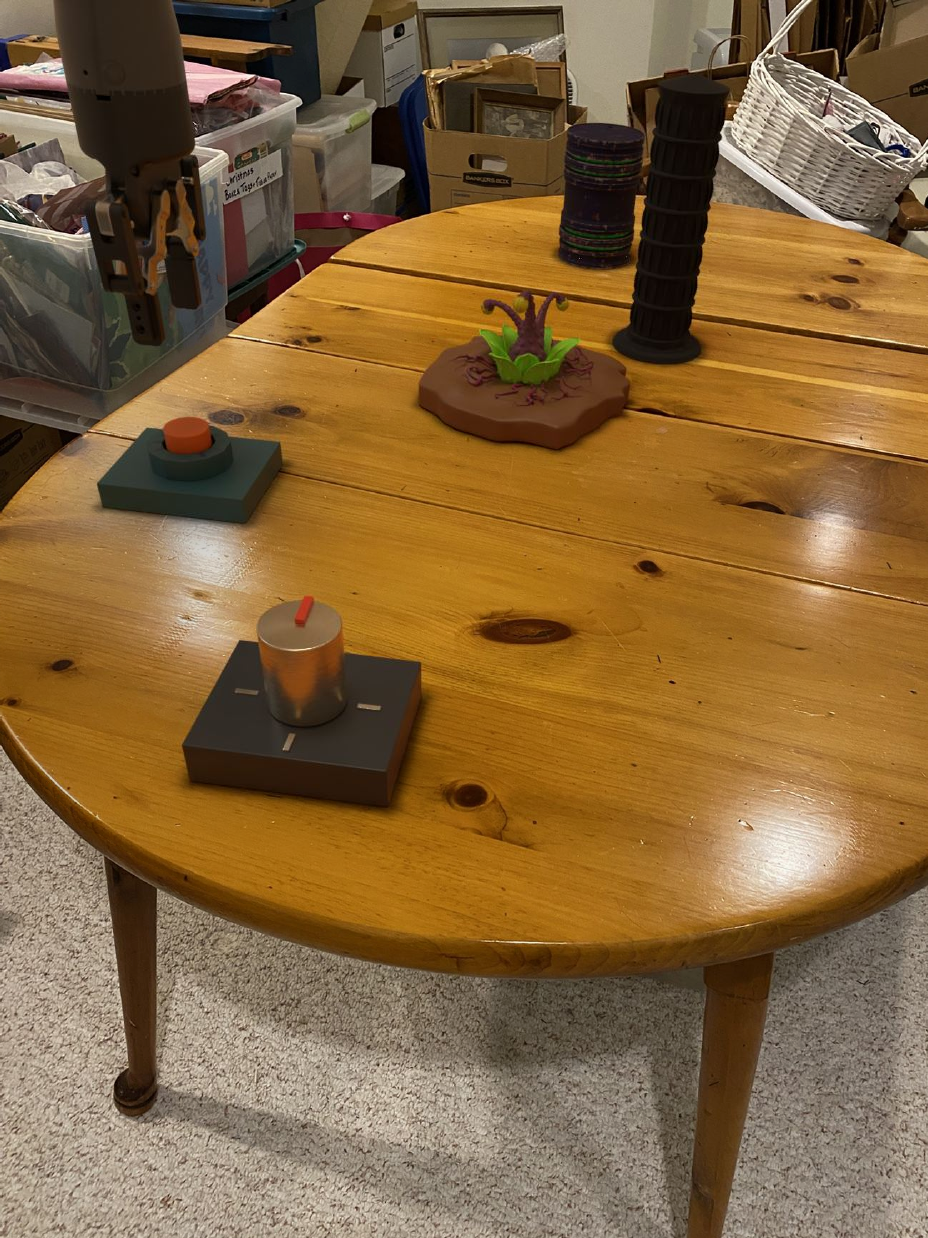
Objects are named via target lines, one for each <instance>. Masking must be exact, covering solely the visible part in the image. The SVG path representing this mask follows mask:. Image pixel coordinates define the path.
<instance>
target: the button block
mask: <svg viewBox="0 0 928 1238" xmlns="http://www.w3.org/2000/svg"><path fill="white" fill-rule="evenodd" d="M209 428H210V434H211V441H212V446H211V448H210V449H207V450H205V451H203V452H201V453H194V454H187V455H184V454H175V453H171V452H169V451H168V450H167V447H166V442H165V437H164V431H163V428H156V427H146V428H145V429H144V430H143V431H142V432H141V433H140V434H139V435H138V437H137V438H136V439H135V440H133V442H132V443H131V444H130V445H129V447H128V448H127V449H126V450H125V451H124V452H123V453H122V454H121V456H120V457H119V458H118V459H117V460H116V461H115V463H114V464H112V466H111V467H110V468H109V469H108V470H107V471H106V472H105V473H104V475H103V476H102V477H101V478H100V479H99V480H98V481H97V482H96V487H97V490H98V495H99V499H100V503H101V506H102V508H106V509H107V508H108V509H117V510H126V511H135V512H143V513H151V514H161V515H168V516H169V515H170V516H177V517H178V516H179V517H184V518H185V517H187V518H196V519H204V520H213V521H221V522H230V523H239V524H246V523H247V522H248V521H249V519H250V517H251V516H252V515H253V512H254V511H255V509H256V508H257V506H258V504H259V503H260V501H261V500H262V498H263V497H264V496H265V494H266V492H267V490H268V489H269V487H270V486H271V484H272V483H273V481H274V479H275V478H276V476H277V475H278V473H279V472H280V470H281V469H282V466H283V464H284V462H283V454H282V443H281V441H275V440H265V439H256V438H247V437H241V436H239V437H237V436H229V434H228V432H227V431H225V430H224V429H222V428H218V427H217V426H215V425H210V424H209Z"/></svg>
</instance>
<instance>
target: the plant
mask: <svg viewBox="0 0 928 1238" xmlns="http://www.w3.org/2000/svg"><path fill="white" fill-rule="evenodd" d="M554 299H555V306H556V308H557V310H558V311H561V312H565V311H567V310H568V309H569V307H570V303H569V299H568V298H567V297H566V296H565V295H563V294H562V293H558V292H555V291H553V292H551V293H550V294H548V296H547V297H545V300H544V299H543V301H542V302H543V303H542V304H541V305H540V308H539V309H538V311H537V314H536V303H535V302H534V300H535V297H534V295H533V294H532V292H531V290H530V289H527V290H524V291H521V292H520V293H519V294H516V296H515V298H514V299H513V302H512V307H511V306H510V305H508V304H507V303H505V302H502V301H501V300H497V299H492V298H487V299H484V300H483V301H481V304H480V310H481V312H482V313H483V315H487V316H489V315H492V314H493V313H494V311H495V307H497V308H499V309H501V310H503V312H504V313H506V314H507V316H508V317H509V318H510V319H511V321H512V322H513V323H514V326H515V327H516V329H517V330H515V329H514V328H512V327H511V326H510V325H508V324H502V326H501V332H502V334H497V333H496V332H494V331H492V330H488V329H482V328H479V330H478V334H479V335H477V336H473V337H472V338H471V340H470V341H469V342H467V343H464V344H461V345H457V346H453V347H448V348H445V349H444V350H442V351H441V352H440V354H439V356H438V357H437V358H436V359H435V360H434V361H433V362H432V363H431V364H430V365H428V367H427V368H426V369H425V370H424V372H423V374H422V375H421V377H420V380H419V381H418V405H419V406H420V407H422V408H424V409H425V410H427V411H429V412H431V413H433V414H434V415H436V416H437V417H439V419H440V420H441V421H442V422H443V423H445V424H446V425H448V426H450V427H452V428H454V429H457V430H459V431H461V432H465V433H469V434H472V435H474V436H475V435H476V436H478V437H480V438H484V439H487V440H490V441H494V442H524V443H530V444H534V445H538V446H541V447H545V448H549V449H552V450H559V449H561V448H563V447H565V446H569V445H572V444H574V443H575V442H576V441H577V440H578V439H579V438H580V437H582V436H583V435H585V434H588V433H590V432H593V431H594V430H596V429H597V428H598V427H599V426H600V425H601V424H602V423H603V422H604V421H605V420H607V419H608V418H610V417H613V416H617V415H621V414H623V411H624V406H625V405H626V404H627V403H628V401H629V397H630V396H629V395H630V388H631V380H630V379H629V378H627V377H626V375H627V367H626V365H624V364H623V363H622V362H620V361H619V360H618V359H616V358H614V357H612V356H610V355H607V354H606V353H602V352H599V351H594V350H590V349H587V348H585V347H582V346H579V343H581V337H570V338H566V339H563V340H560V339H554V337H553V333H554V332H553V328H552V327H551V326H550V325H548V326H545V324H546V317H547V313H548V310H549V307H550V304H551V303H552V301H554ZM520 314H524V319H522V317H520Z"/></svg>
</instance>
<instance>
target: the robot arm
mask: <svg viewBox="0 0 928 1238" xmlns="http://www.w3.org/2000/svg"><path fill="white" fill-rule="evenodd" d="M52 4H53V12H54V13H53V15H54V26H55V33H56V40H57V44H58V49H59V54H60V59H61V64H62V68H63V74H64V77H65V83H66V88H67V92H68V97H69V103H70V106H71V113H72V116H73V122H74V126H75V131H76V136H77V141H78V144H79V148H80V150H81V151H82V153H83V154H84V155H85V156H86V157H88V158H90V159H92V160H96V161H97V162H98V163H99V164H100V165H101V166H103V168H104V175H105V177H104V178H105V197H104V198H103V199H102V200H91V199H90V200H89V199H87V200H86V201H85V202H84V207H83V209H84V216H85V220H86V224H87V228H88V233H89V236H90V241H91V244H92V248H93V252H94V256H95V261H96V264H97V268H98V273H99V277H100V280H101V285H102V288H103V291H104V292H106V293H110V294H111V293H115V294H122V295H123V296H124V300H125V306H126V309H127V310H126V311H127V315H128V320H129V326H130V330H131V336H132V339H133V341H134V342H135V343H136V344H137V345H140V346H141V345H142V346H148V347H149V346H151V347H160V346H162V344H164V342H165V341H166V339H167V336H166V330H165V325H164V321H163V320H164V319H163V314H162V309H161V308H162V307H161V303H160V302H161V301H160V297H159V292H158V291H157V284H158V283H157V281H158V264H159V263H161V262H162V261H163V263H164V267H165V273H166V279H167V284H168V285H167V286H168V290H169V291H168V292H169V296H170V302H171V305H172V306H173V307H174V308H176V309H181V310H182V309H183V310H184V309H185V310H193V311H194V310H197V309H198V308H199V307H201V305H202V303H203V300H202V294H201V285H200V280H199V274H198V268H197V260H196V258H197V257H199V254H200V246H199V242H204V241H205V240H206V238H207V230H206V219H205V212H204V203H203V193H202V184H201V176H200V167H199V160H198V157H197V155H196V154H192V153H193V152H194V150H195V148H196V137H195V131H194V123H193V116H192V109H191V102H190V96H189V95H190V94H189V88H188V81H187V75H186V66H185V58H184V52H183V45H182V40H181V39H182V38H181V31H180V27H179V24H178V20H177V17H176V11H175V8H174V4H173V0H52ZM198 241H199V242H198ZM136 242H142V243H143V242H144V243H147V244H144V245H143V244H136ZM140 260H142V262H143V263H142V266H141V263H140ZM113 261H115V267H114V263H113Z"/></svg>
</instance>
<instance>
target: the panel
mask: <svg viewBox="0 0 928 1238" xmlns="http://www.w3.org/2000/svg"><path fill="white" fill-rule="evenodd" d="M344 655H345V668H346V681H347V695H348V700H347V704H346V706H345V708H344V709H343V711H342V712H341V713H340V714H339V715H338V716H337V717H335V718H334V719H332V720H330V721H328V722H326V723H323V724H320V725H316V726H309V727H299V726H292V725H288V724H285V723H283V722H281V721H279V720H277V719H276V718H275V717H274V716H273V715H272V714H271V713H270V711H269V709H268V706H267V699H266V692H265V685H264V679H263V672H262V665H261V658H260V651H259V644H258V641H254V640H244V639H239V640H238V642H237V643H236V645H235V647H234V649H233V651H232V652H231V655H230V656H229V659H228V660H227V662H226V663H225V665H224V667H223V669H222V671H221V673H220V674H219V677H218V678H217V679H216V682H215V683H214V685H213V687H212V689H211V691H210V692H209V695H208V696H207V698H206V700H205V702H204V703H203V705H202V707H201V709H200V711H199V713H198V714H197V716H196V717H195V720H194V722H193V724H192V725H191V727H190V729H189V731H188V732H187V735H186V736H185V738H184V740H183V742H182V744H181V749H182V753H183V757H184V763H185V765H186V769H187V775H188V780H189V781H190V782H196V783H203V784H210V785H211V784H212V785H217V786H218V785H219V786H227V787H234V788H242V789H250V790H257V791H265V792H273V793H278V794H279V793H280V794H287V795H294V796H302V797H310V798H316V799H325V800H333V801H341V802H347V803H355V804H356V803H357V804H362V805H370V806H378V807H386V808H387V807H389V804H390V801H391V798H392V795H393V792H394V788H395V785H396V781H397V778H398V775H399V772H400V768H401V766H402V762H403V759H404V755H405V753H406V749H407V745H408V743H409V739H410V736H411V733H412V729H413V725H414V722H415V719H416V716H417V713H418V709H419V707H420V703H421V700H422V662H421V661H416V660H407V659H401V658H392V657H384V656H383V657H382V656H377V655H376V656H375V655H367V654H361V653H360V654H358V653H351V652H344Z"/></svg>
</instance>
